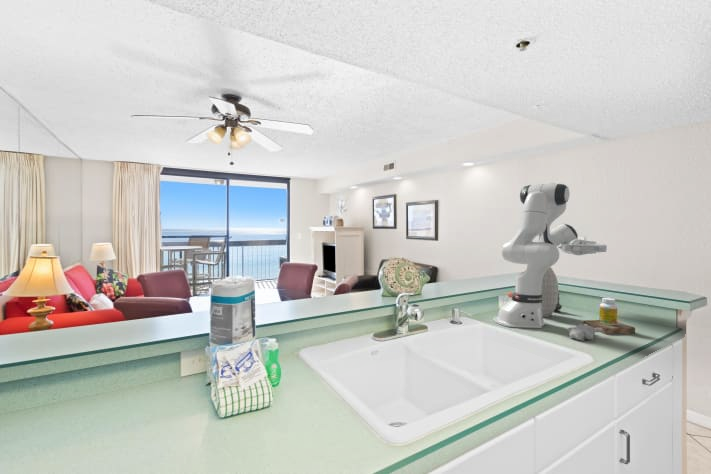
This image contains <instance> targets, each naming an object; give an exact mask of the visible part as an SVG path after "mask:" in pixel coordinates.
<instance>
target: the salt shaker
mask: <svg viewBox="0 0 711 474" xmlns="http://www.w3.org/2000/svg"><path fill="white" fill-rule="evenodd" d="M560 299H561V298H560V292H559V291H558V302H557V305H556V308H555V310H554V312H553V313H555V314H561V313H562V311H561V309H562V308H563V305H562V304H560Z"/></svg>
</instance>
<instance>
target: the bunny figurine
mask: <svg viewBox="0 0 711 474" xmlns="http://www.w3.org/2000/svg"><path fill="white" fill-rule="evenodd" d="M601 332H604V331H603V329H602V328H593V327H592V326H589V325H587V324H584V325H583V323H579V324H577V326H575V327H568V328H567V333H568V334H569V338H570V339H573V340H574V339H575V340H577V341H581V342H583V341H585V340H591V341H592V340H595V334H596V333H601Z"/></svg>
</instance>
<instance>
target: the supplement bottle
mask: <svg viewBox="0 0 711 474" xmlns="http://www.w3.org/2000/svg"><path fill="white" fill-rule="evenodd" d="M601 300H602V301H601V302H602V303H600V304H599V319H598V320H599V322H600V323H602V324H605V325H617V322H618V305H616V299H615V298H612V297H602V298H601Z"/></svg>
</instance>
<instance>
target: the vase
mask: <svg viewBox="0 0 711 474" xmlns="http://www.w3.org/2000/svg"><path fill="white" fill-rule="evenodd" d="M558 292H559V281H558V279H557V276H556V273H555V271H554V270H553V268H552V266H551V267H549V268H548V269H547V270H546V272H545V274H544V276H543V279H542V288H541V294H542V305H541V307H542V315H543V318H551V316H552V315H553V313H554V310H555V308H556V305H557V302H558Z"/></svg>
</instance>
